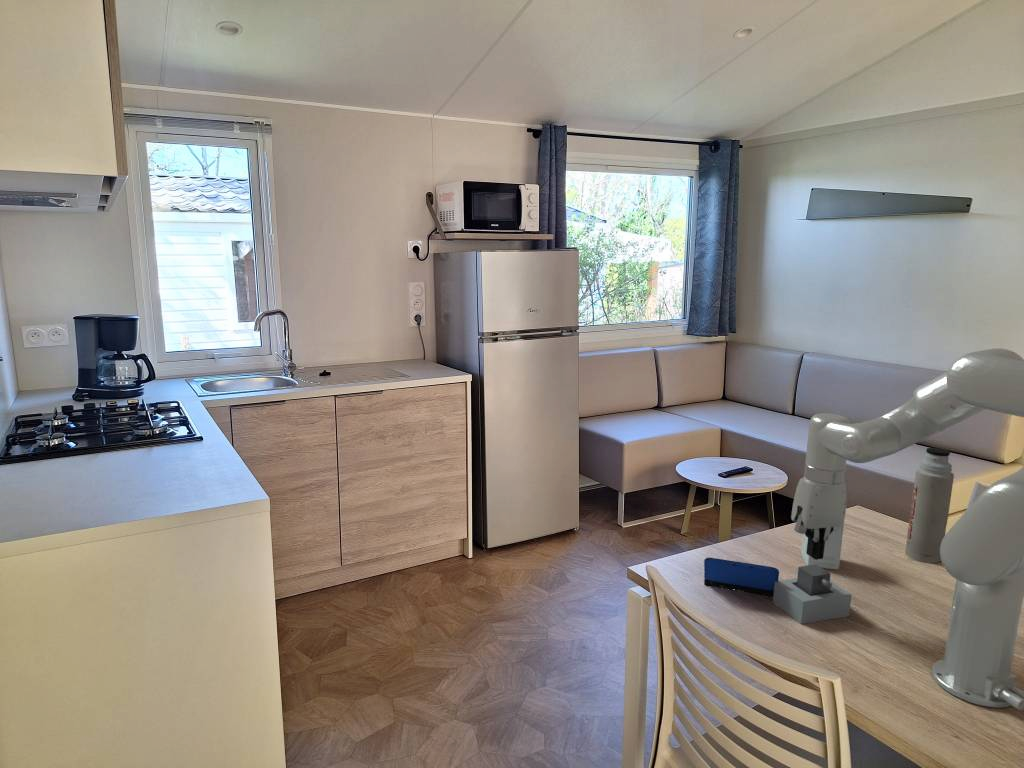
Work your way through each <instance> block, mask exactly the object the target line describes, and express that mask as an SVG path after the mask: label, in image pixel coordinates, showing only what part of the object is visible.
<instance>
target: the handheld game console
mask: <svg viewBox="0 0 1024 768" xmlns="http://www.w3.org/2000/svg"><path fill="white" fill-rule="evenodd" d="M703 564H704V565H703V567H704V573H703V574H704V579H703V583H704V586H705V585H706V586H705V587H708V586H711V587H710V588H715V587H717V588H716V589H721V588H723V589H722V590H727V589H729V590H728V591H738V590H740V592H742V591H744V592H743V593H745V592H747V593H746V594H749V593H750V594H751V595H756V596H762V597H766V596H767V597H768V598H772V599H773V595H774V585H775V581H779V578H780V577H779V576H780V570H779V569H778V568H776V567H774V566H767V565H761V564H754V563H748V562H742V561H736V560H728V559H722V558H721V559H720V558H716V557H715V558H714V557H706V558H704V560H703ZM733 589H735V590H733Z"/></svg>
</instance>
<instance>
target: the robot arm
mask: <svg viewBox="0 0 1024 768" xmlns="http://www.w3.org/2000/svg"><path fill="white" fill-rule="evenodd" d="M912 396H913V397H912V398H910V399H909V400H908V401H906V402H905V403H904V404H902V405H900V406H899V407H897V408H895V409H893V410H892V411H889V412H887V413H885V414H884V415H882V416H881V415H880V417H877V418H874V419H869V420H866V421H861V422H854V423H851V421H850V420H849V418H847V417H845V416H843V415H841V414H836V413H827V412H826V413H825V412H821V413H816V414H814V415H812V416H811V418H810V421H809V428H808V437H807V446H806V453H805V454H806V455H805V461H804V473H803V477H801V478H800V479H799V480H798V482H797V486H796V490H795V493H794V498H793V502H792V510H791V515H790V518H791V520H792V522H793V523H795V525H794V531H795V532H796V533H798V534H802V535H803V534H805V536H806V537H808V542H807V551H806V553H807V555H809V556H811V557H812V558H814V559H815V560H818V559H823V555H824V547H825V541H827V540H828V538H829V535H830V534H831V533H832V532H833V531H834V530H837V529H840V528H841V524H842V523H843V522H844V523H845V518H846V512H847V511H846V510H847V485H846V480H845V474H846V473H848V468H847V466H846V465H847V462H852V463H855V464H866V463H870V462H872V461H875V460H879V459H883V458H884V457H888V456H892V455H894V454H896V453H899V452H901V451H903V450H905V449H907V448H909V447H911V446H913V445H915V444H917V443H919V442H921V441H923V440H925V439H927V438H929V437H932V436H933V435H935V434H937V433H940V432H943V431H945V430H947V429H948V428H951V427H952V426H954V425H956V424H959V423H960V422H963V421H965V420H966V419H967V420H968V419H969V418H971V417H972V416H975V415H977V414H979V413H980V412H983V411H985V410H988V411H992V412H993V411H994V412H998V413H1002V414H1007V415H1010V416H1015V417H1020V418H1024V358H1023V357H1022V356H1021V355H1020V354H1018V353H1017V352H1014V351H1013V350H1009V349H1005V348H989V349H984V350H978V351H973V352H969V353H965V354H963V355H961V356H960V357H958V358H957V359H955V360H954V362H952V364H951V365H950V367H949V368H948V370H947V371H945V372H944V373H942V374H939V375H938V376H936V377H934V378H932V379H930V380H928V381H926V382H925V383H923V384H921V385H919V386H918V387H917V388H915V390H914V391H913V395H912ZM940 558H941V563H942V566H943V568H944V569H945V571H946V572H947V573H948V574H949V575H950V576H951V577H953V578H954V579H955V580H956V581H955V584H954V592H953V597H952V603H951V610H950V618H949V623H948V628H947V629H948V630H947V636H946V637H947V638H946V645H945V651H944V657H943V659H939V660H936V661H935V662H934V663H933V664H932V667H931V669H932V670H931V675H932V678H933V680H934V681H935V682H936V683H937V684H938V685H939V686H940V687H941V689H943V690H945V691H946V692H948V693H949V694H951V695H953V696H955V697H957V698H958V699H961V700H963V701H966V702H968V703H972V704H974V705H978V706H983V707H989V708H998V709H999V708H1000V709H1001V708H1007V707H1011V706H1012V707H1014V708H1015V709H1017V710H1018V711H1023V710H1024V690H1022V689H1021V688H1018V687H1017V685H1016V683H1017V682H1016V680H1017V675H1015V674H1014V673H1012V672H1011V671H1012V663H1013V659H1014V651H1015V647H1016V640H1017V636H1018V635H1017V634H1018V628H1019V624H1020V619H1021V613H1022V607H1023V602H1024V466H1022V468H1021V469H1019V470H1017V471H1015V472H1013V473H1012V474H1009V475H1006V476H1005V477H1003V478H1000V479H998V480H996V481H994V482H993V483H991V485H989V486H988V487H987V488H985V490H983V491H982V492H981V493H980V494H979V496H978V497H976V499H974V501H973V502H972V504H970V506H969V507H968V508H967V509H966V510H965V511H964V513H963V514H962V515H961V516H960V517H959V519H957V521H955V523H954V524H953V525H952V526H951V527H950V528H949V529H948V531H946V532H945V536H944V538H943V540H942V542H941V545H940Z"/></svg>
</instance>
